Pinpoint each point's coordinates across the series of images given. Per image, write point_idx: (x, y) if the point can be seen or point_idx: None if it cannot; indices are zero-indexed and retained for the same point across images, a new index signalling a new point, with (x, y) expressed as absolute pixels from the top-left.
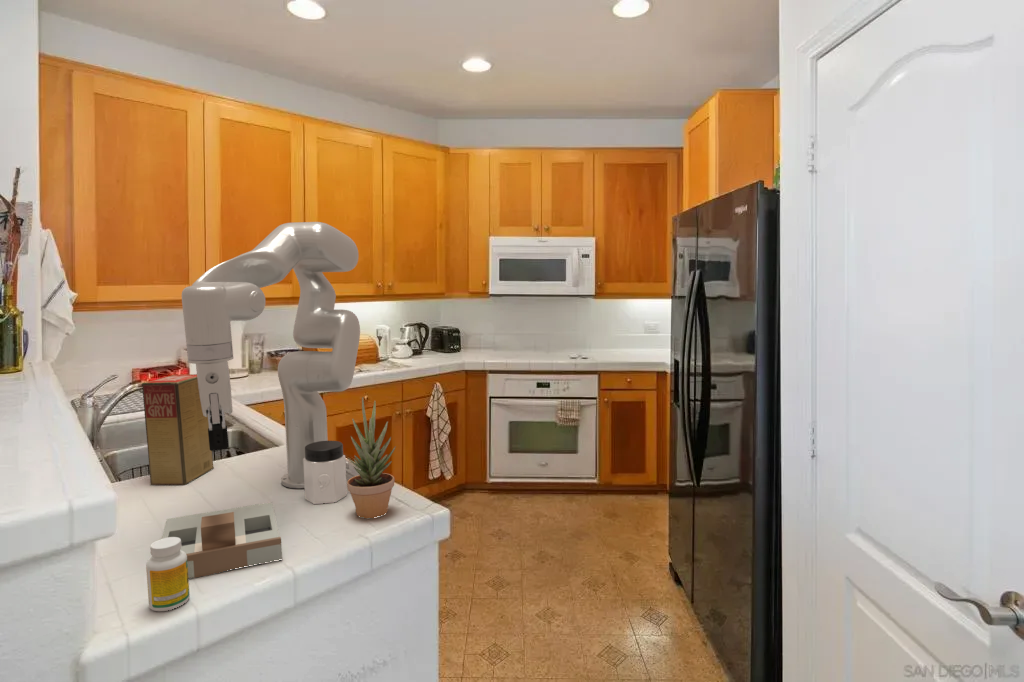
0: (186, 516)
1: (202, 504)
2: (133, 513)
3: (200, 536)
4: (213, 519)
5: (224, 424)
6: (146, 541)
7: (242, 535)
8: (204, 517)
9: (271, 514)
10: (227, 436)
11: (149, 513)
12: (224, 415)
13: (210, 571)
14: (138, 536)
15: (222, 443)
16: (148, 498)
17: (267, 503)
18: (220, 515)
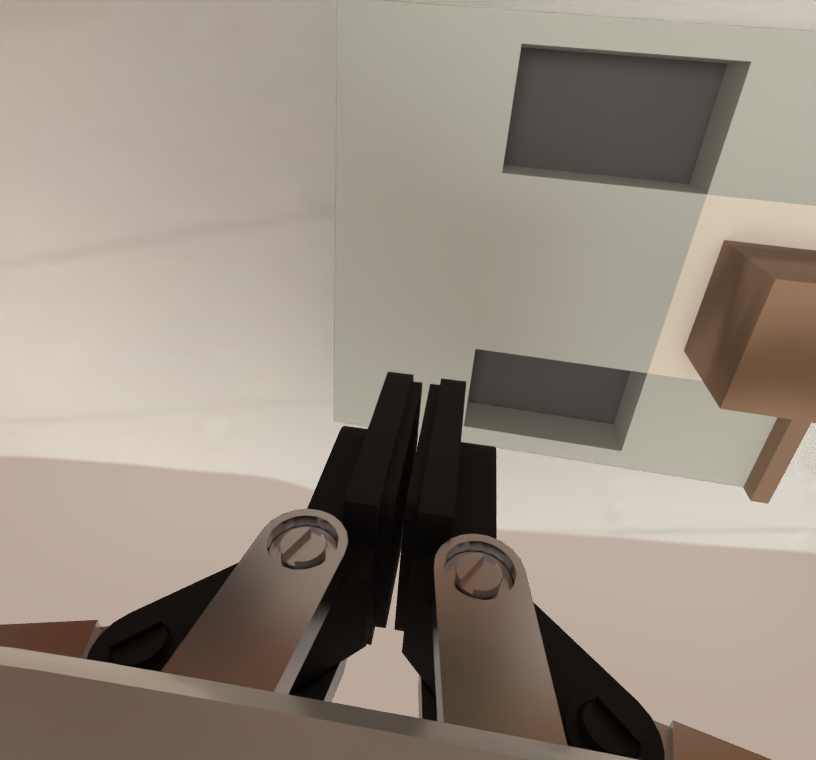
0: (341, 366)
1: (107, 272)
2: (131, 451)
3: (586, 350)
4: (803, 374)
5: (531, 606)
6: None
7: (705, 207)
8: (738, 401)
9: (525, 31)
10: (457, 445)
11: (144, 418)
12: (266, 632)
13: None
14: (326, 456)
15: (493, 457)
16: (8, 409)
17: (345, 28)
18: (774, 340)
